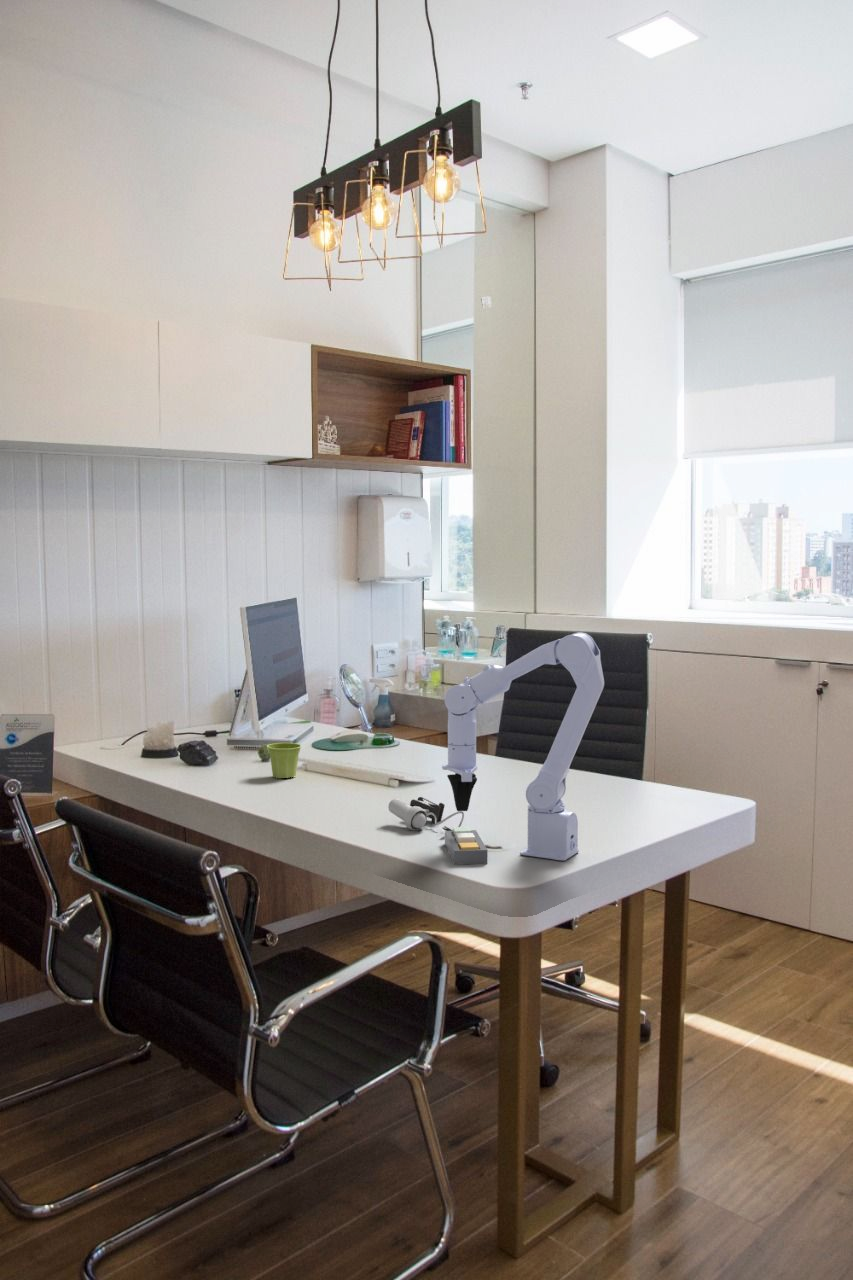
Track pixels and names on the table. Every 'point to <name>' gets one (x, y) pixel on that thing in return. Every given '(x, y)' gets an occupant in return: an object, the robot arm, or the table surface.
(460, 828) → the sage key
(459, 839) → the middle key
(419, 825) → the clip-on lamp
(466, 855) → the keypad
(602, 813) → the table surface
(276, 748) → the plant pot
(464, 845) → the amber key
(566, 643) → the robot arm
